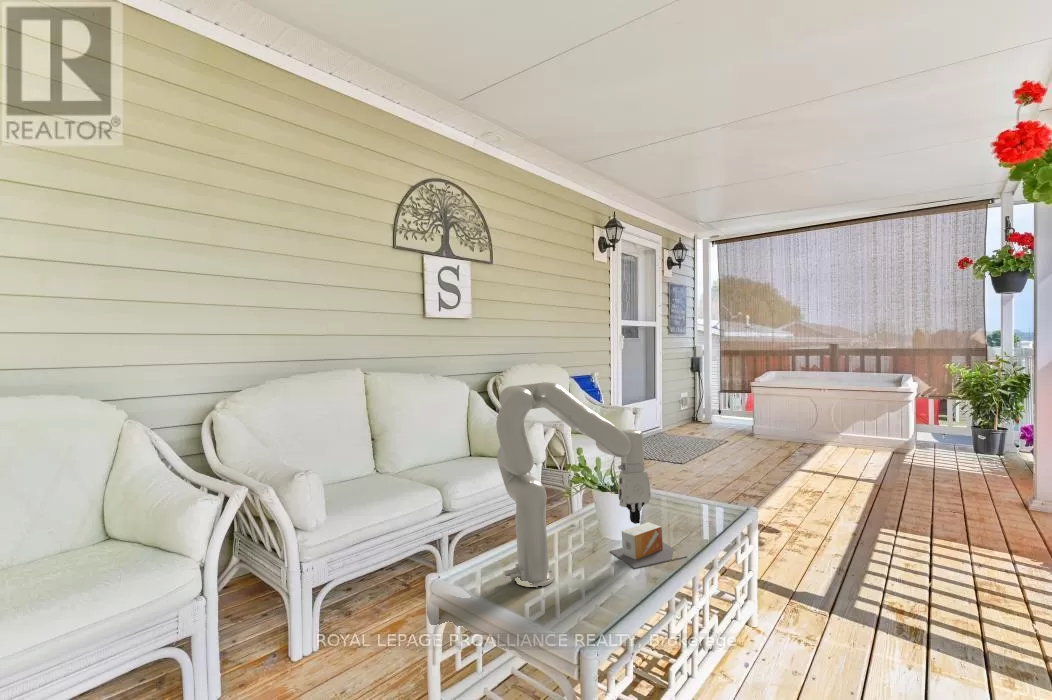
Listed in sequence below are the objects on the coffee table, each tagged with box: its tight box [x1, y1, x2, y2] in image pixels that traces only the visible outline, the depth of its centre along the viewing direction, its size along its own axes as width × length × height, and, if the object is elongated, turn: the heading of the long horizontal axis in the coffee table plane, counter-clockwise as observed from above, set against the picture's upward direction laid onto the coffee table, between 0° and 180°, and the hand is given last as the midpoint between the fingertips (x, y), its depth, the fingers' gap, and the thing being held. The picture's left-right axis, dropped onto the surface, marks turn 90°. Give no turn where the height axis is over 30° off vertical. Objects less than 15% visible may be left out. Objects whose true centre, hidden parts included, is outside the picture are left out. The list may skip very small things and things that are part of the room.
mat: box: [609, 541, 675, 570], centre depth 172 cm, size 20×16×1 cm
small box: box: [621, 521, 663, 559], centre depth 173 cm, size 8×6×13 cm
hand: (635, 522), depth 170 cm, fingers closed
